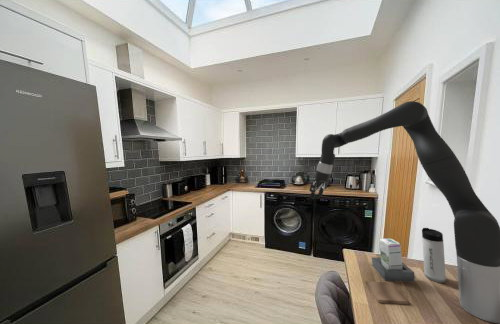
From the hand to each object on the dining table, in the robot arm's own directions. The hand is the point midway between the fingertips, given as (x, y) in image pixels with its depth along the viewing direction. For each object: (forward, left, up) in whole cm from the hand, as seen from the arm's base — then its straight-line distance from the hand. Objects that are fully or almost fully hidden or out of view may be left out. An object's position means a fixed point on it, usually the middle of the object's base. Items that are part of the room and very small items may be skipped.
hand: (315, 197), depth 103 cm
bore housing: (-28, +17, -31) cm, 45 cm away
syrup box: (-28, +17, -32) cm, 45 cm away
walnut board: (-19, +30, -31) cm, 48 cm away
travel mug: (-43, +19, -32) cm, 56 cm away
